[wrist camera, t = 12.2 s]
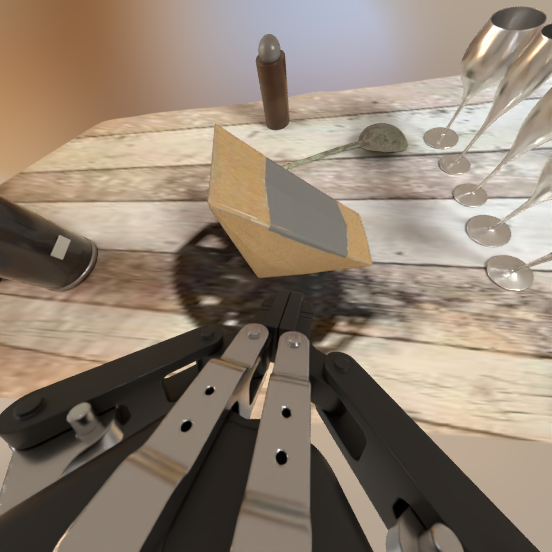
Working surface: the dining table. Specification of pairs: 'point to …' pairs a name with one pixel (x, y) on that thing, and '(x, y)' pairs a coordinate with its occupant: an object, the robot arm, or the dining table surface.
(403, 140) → the soupspoon
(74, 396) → the robot arm
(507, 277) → the goblet set
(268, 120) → the pepper mill
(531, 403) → the dining table surface
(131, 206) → the dining table surface
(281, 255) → the sandwich container
